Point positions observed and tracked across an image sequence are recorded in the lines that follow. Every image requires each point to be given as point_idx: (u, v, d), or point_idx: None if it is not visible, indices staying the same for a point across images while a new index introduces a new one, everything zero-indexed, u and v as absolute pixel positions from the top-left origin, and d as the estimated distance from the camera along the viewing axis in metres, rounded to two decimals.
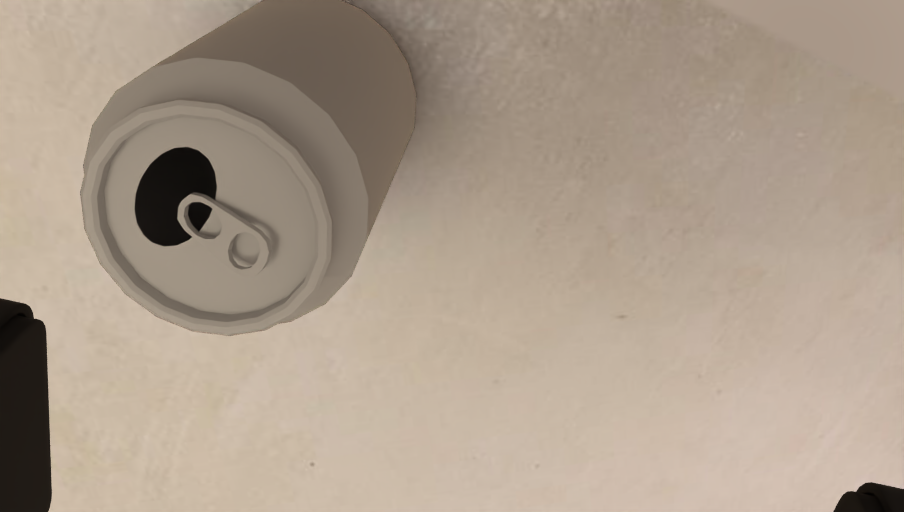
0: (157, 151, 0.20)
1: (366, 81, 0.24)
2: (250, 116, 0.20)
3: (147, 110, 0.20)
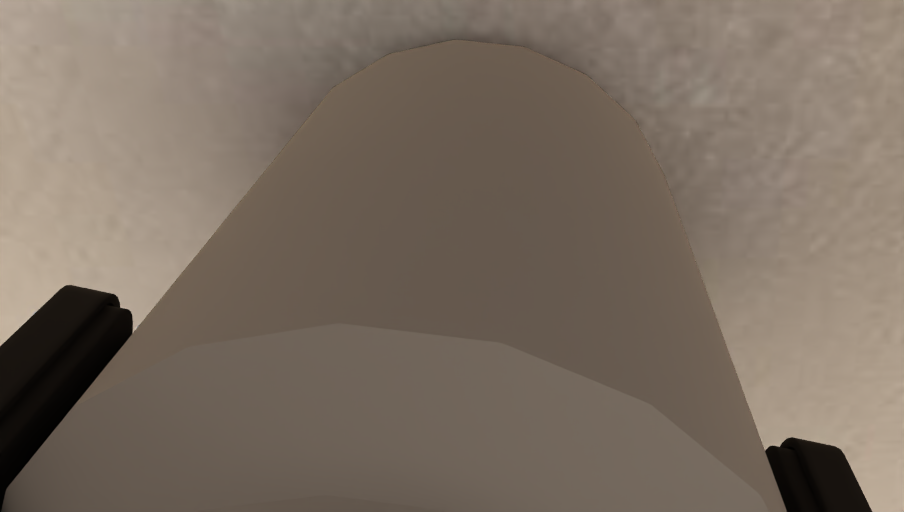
0: None
1: (690, 275, 0.10)
2: None
3: None
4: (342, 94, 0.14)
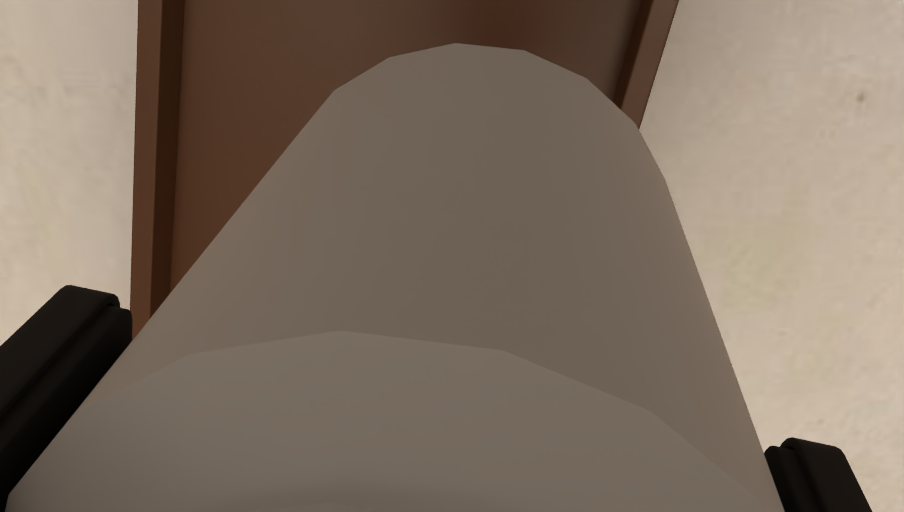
0: None
1: (690, 279, 0.10)
2: None
3: None
4: (343, 98, 0.14)
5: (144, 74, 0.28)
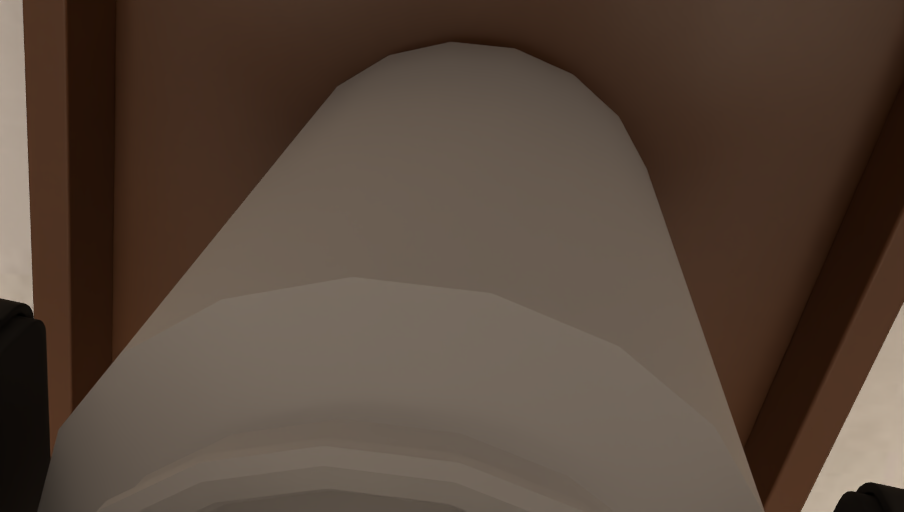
0: None
1: (665, 252, 0.11)
2: (543, 487, 0.06)
3: (221, 473, 0.06)
4: (346, 92, 0.15)
5: (45, 282, 0.17)
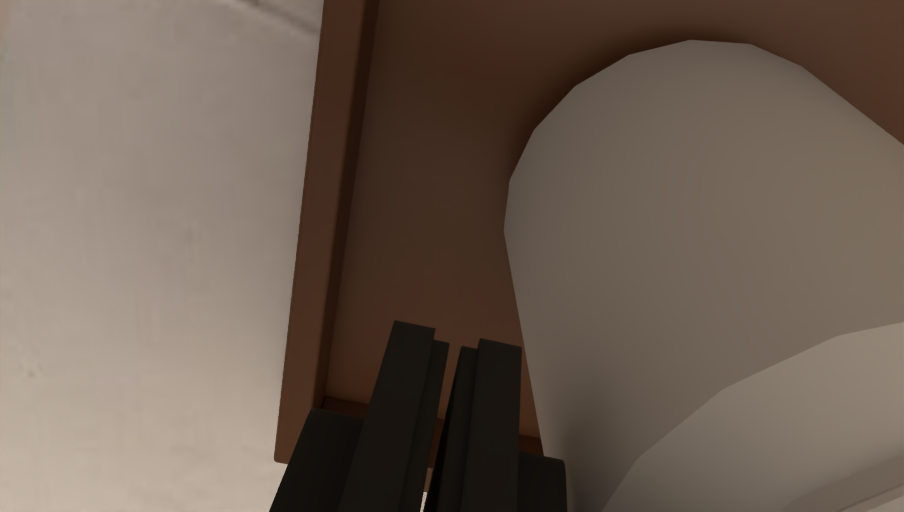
0: None
1: (652, 197, 0.12)
2: None
3: None
4: None
5: None
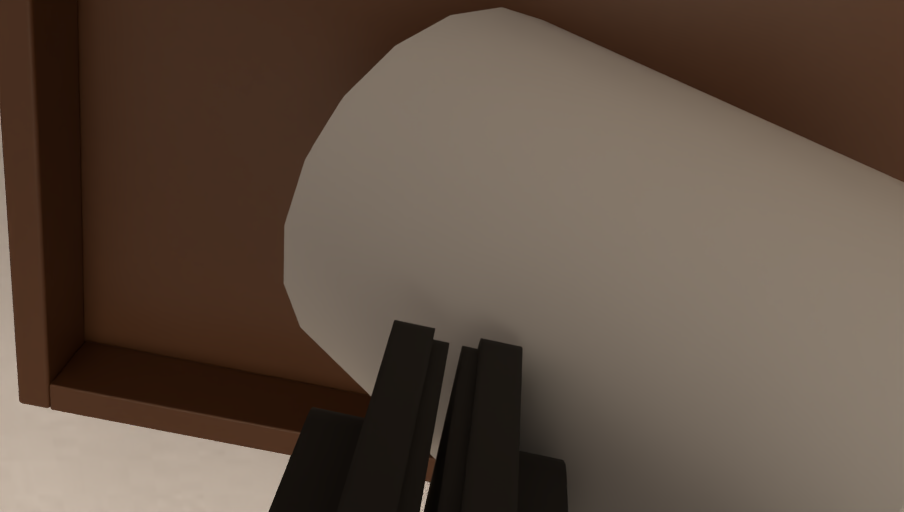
0: None
1: (613, 243, 0.10)
2: None
3: None
4: None
5: (426, 473, 0.21)
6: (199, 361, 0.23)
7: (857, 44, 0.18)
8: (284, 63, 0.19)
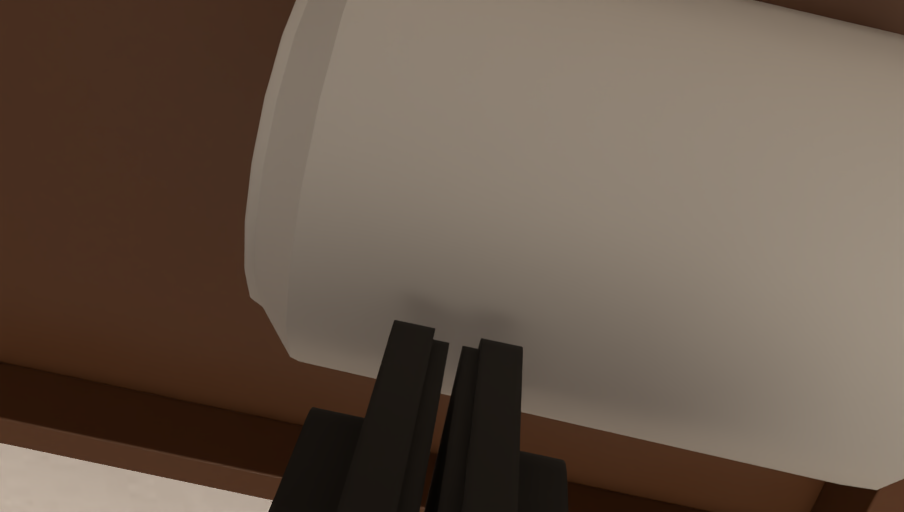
0: None
1: (743, 32, 0.12)
2: None
3: None
4: None
5: (224, 481, 0.20)
6: (5, 362, 0.22)
7: None
8: (55, 52, 0.18)
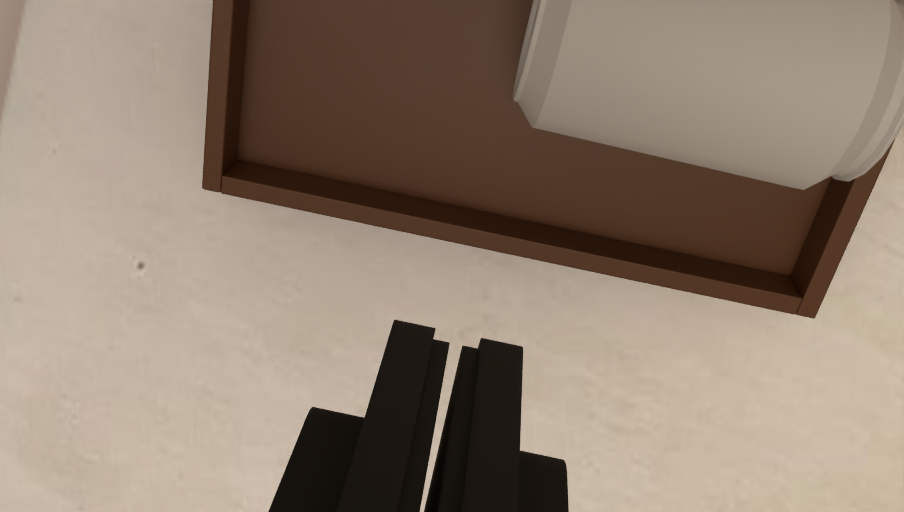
0: None
1: None
2: None
3: (900, 128, 0.27)
4: (599, 90, 0.26)
5: (450, 235, 0.35)
6: (308, 173, 0.36)
7: None
8: None
